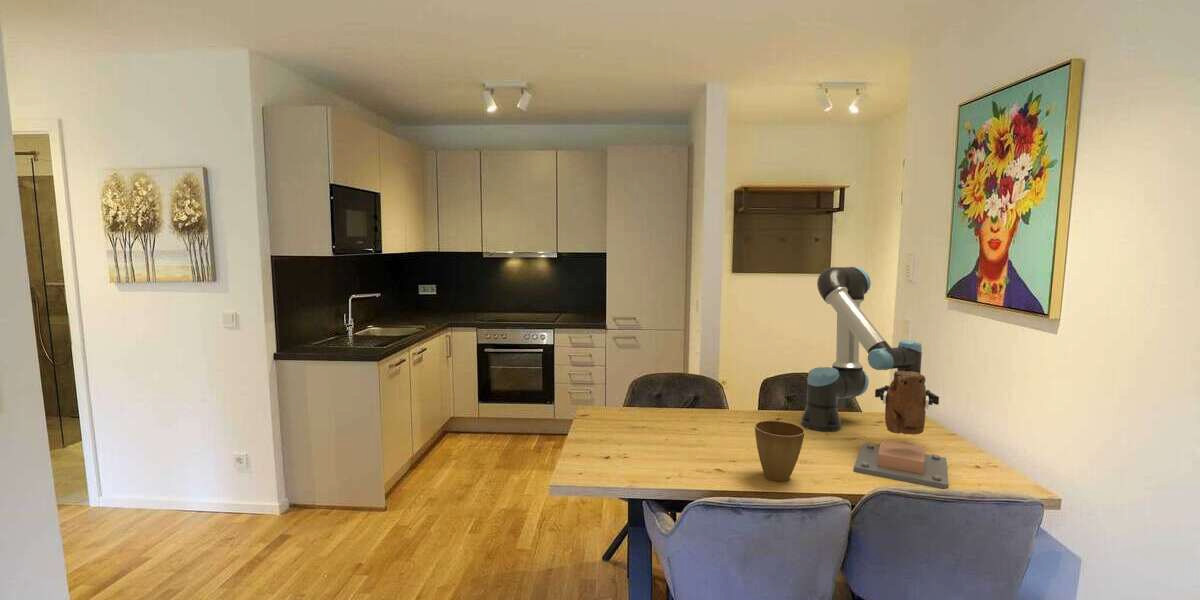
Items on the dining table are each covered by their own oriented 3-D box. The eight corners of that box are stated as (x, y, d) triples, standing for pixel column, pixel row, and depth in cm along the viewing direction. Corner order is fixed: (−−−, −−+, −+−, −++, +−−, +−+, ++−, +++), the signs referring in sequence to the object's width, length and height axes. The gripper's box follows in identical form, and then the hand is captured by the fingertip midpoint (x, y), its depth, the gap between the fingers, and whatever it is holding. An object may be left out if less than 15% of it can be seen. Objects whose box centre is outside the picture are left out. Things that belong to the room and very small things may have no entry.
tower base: (853, 471, 180) (854, 454, 180) (861, 447, 202) (862, 432, 202) (948, 489, 167) (949, 471, 167) (945, 461, 189) (946, 446, 189)
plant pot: (750, 482, 170) (752, 431, 169) (755, 465, 184) (757, 418, 183) (802, 490, 165) (804, 437, 164) (803, 472, 179) (805, 423, 178)
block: (912, 428, 187) (915, 369, 186) (926, 435, 180) (930, 374, 178) (881, 428, 187) (884, 370, 185) (894, 436, 179) (897, 375, 178)
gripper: (946, 403, 192) (948, 419, 173) (870, 394, 204) (864, 408, 185) (947, 382, 192) (949, 395, 173) (871, 374, 204) (865, 385, 185)
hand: (905, 401), depth 179 cm, fingers closed on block, 11 cm apart
